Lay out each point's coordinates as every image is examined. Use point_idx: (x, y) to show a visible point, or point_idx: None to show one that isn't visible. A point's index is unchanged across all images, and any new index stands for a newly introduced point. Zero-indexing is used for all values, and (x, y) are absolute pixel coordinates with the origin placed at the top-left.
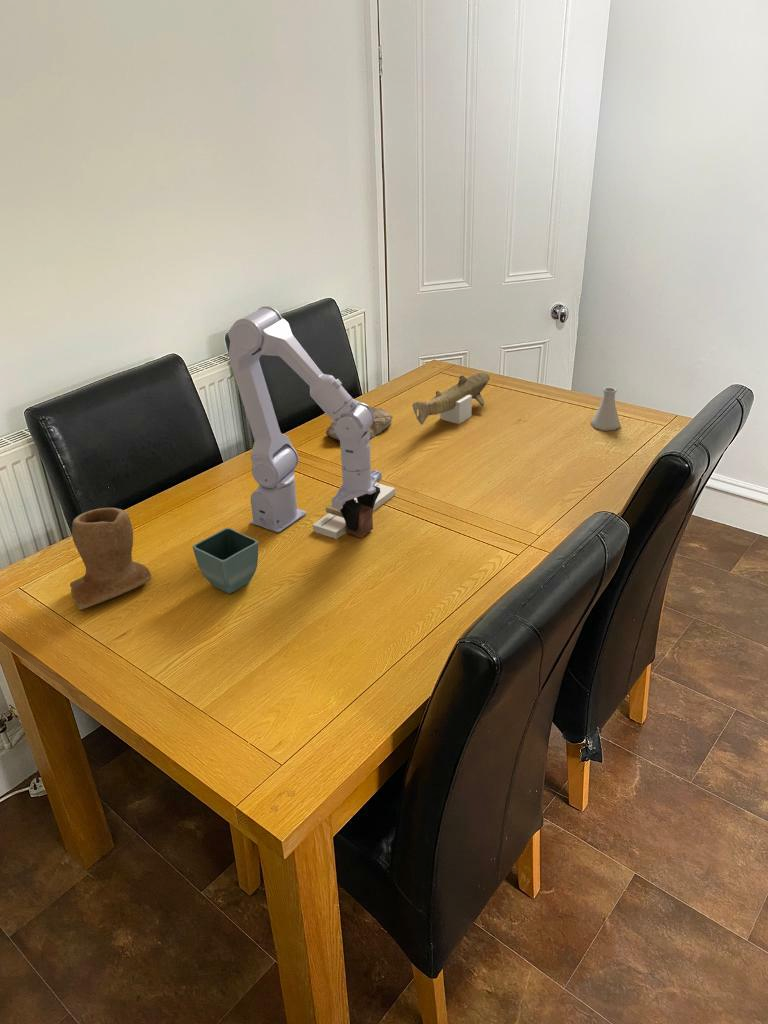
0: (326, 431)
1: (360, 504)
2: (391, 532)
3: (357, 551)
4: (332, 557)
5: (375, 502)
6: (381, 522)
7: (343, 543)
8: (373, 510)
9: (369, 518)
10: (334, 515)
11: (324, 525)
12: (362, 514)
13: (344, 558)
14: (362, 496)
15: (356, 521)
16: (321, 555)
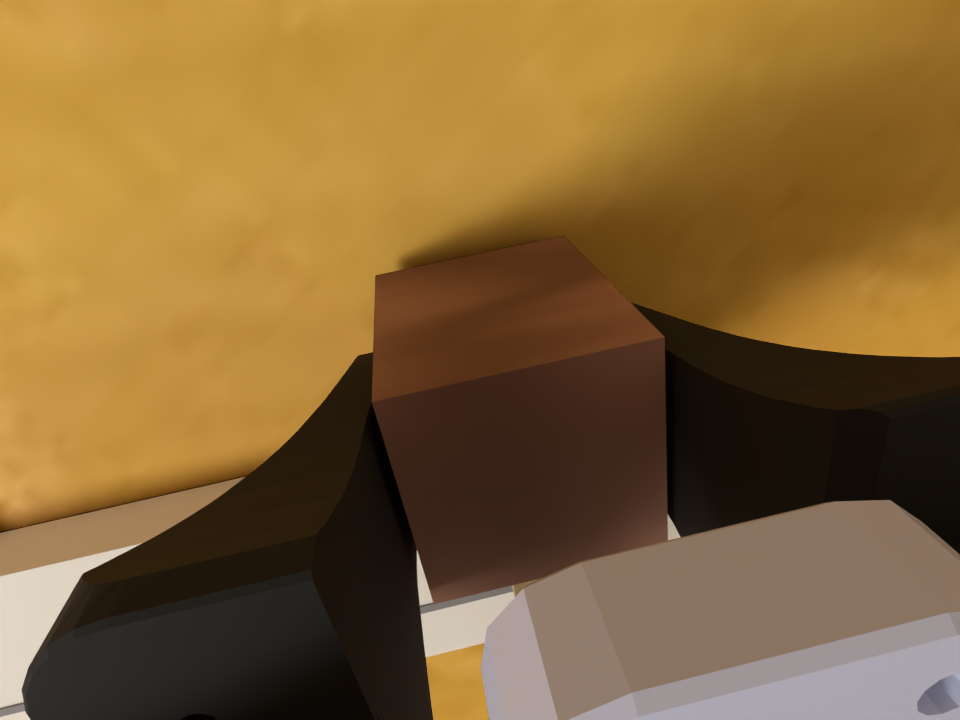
0: None
1: (928, 418)
2: (249, 96)
3: (745, 100)
4: (916, 200)
5: (80, 562)
6: (209, 320)
7: (697, 296)
8: (148, 503)
9: (437, 324)
10: (511, 594)
11: (669, 537)
12: (610, 357)
13: (895, 105)
14: (402, 648)
15: (693, 328)
16: (920, 286)
